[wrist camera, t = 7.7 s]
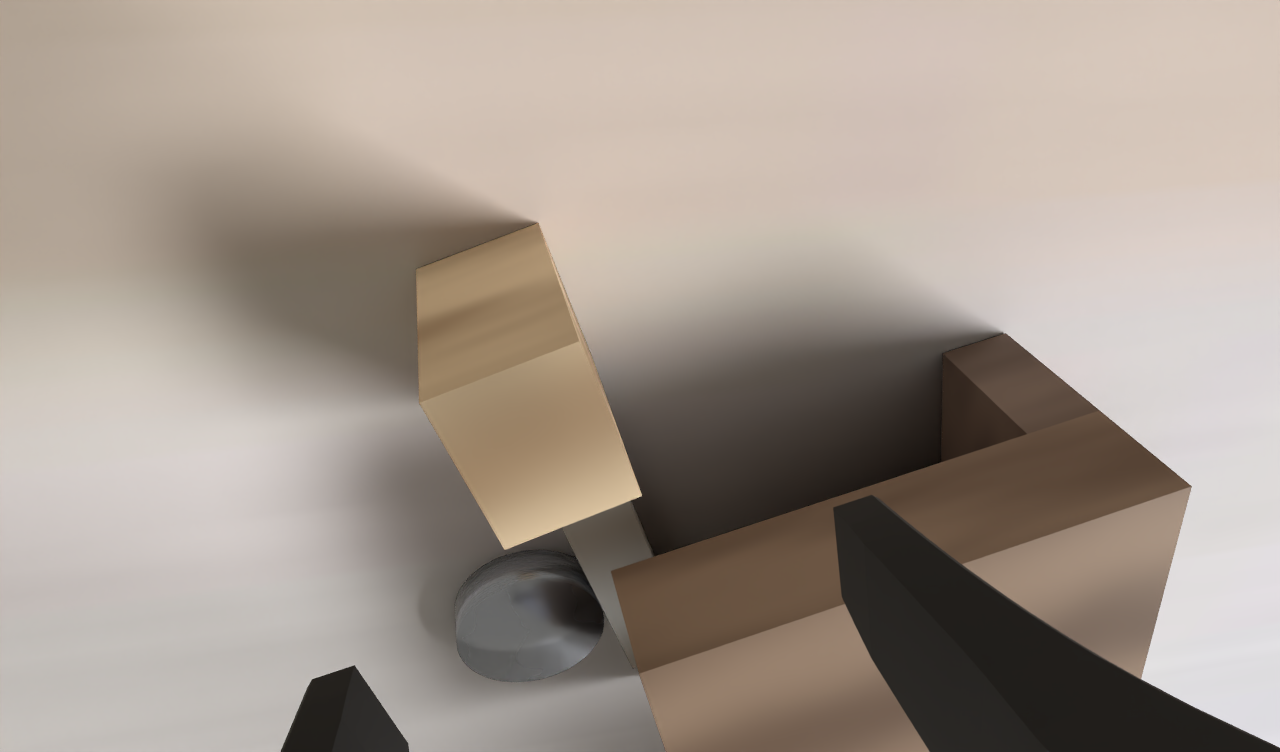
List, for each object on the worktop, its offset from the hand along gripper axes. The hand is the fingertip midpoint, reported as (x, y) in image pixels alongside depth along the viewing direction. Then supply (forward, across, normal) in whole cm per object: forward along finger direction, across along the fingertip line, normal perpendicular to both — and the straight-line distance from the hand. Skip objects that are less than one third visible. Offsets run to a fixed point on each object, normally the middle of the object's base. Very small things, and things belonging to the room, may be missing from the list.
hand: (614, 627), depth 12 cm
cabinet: (+10, -6, +10) cm, 16 cm away
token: (+10, +3, +10) cm, 14 cm away
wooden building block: (+10, 0, +5) cm, 11 cm away
